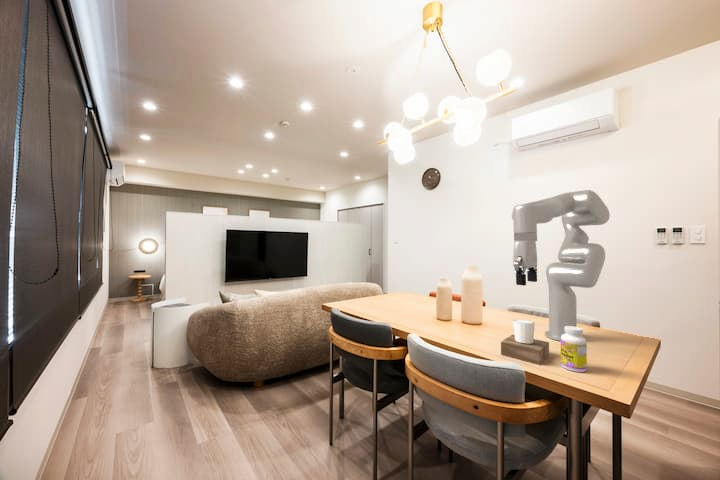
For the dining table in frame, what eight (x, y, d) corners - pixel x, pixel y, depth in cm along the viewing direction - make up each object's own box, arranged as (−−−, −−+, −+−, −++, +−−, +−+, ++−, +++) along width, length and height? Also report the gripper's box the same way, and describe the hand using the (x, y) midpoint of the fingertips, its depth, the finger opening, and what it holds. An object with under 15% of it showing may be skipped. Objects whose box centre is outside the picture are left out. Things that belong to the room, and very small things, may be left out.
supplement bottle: (555, 364, 95) (555, 325, 95) (574, 363, 96) (574, 324, 96) (572, 373, 89) (572, 331, 89) (592, 372, 89) (592, 330, 89)
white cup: (528, 339, 107) (528, 319, 107) (539, 344, 100) (539, 323, 100) (509, 338, 107) (509, 319, 108) (519, 343, 100) (518, 323, 101)
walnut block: (512, 347, 112) (512, 334, 112) (549, 356, 103) (548, 342, 103) (501, 356, 103) (500, 341, 103) (539, 366, 95) (539, 351, 95)
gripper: (524, 236, 117) (526, 279, 117) (504, 238, 106) (505, 285, 106) (545, 236, 111) (547, 281, 111) (526, 238, 100) (527, 287, 100)
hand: (526, 283), depth 109 cm, fingers open, 9 cm apart
